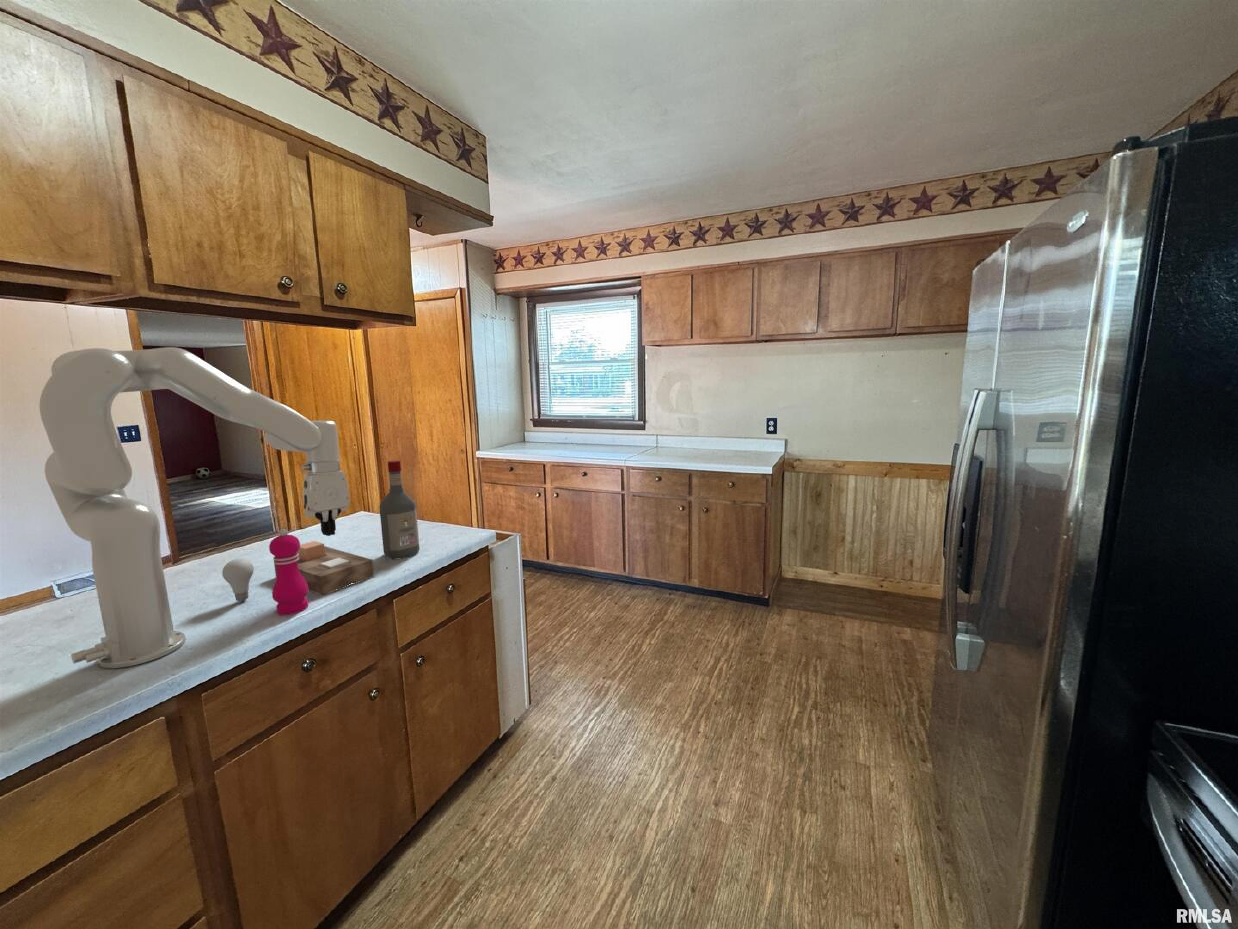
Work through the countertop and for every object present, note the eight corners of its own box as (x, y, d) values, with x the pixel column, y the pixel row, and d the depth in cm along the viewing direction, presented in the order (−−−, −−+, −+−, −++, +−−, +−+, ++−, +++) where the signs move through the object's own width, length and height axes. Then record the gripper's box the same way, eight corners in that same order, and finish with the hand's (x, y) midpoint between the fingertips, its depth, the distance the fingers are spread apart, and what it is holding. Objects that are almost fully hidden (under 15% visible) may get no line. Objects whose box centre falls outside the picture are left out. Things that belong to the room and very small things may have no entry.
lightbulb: (225, 609, 117) (218, 565, 115) (228, 600, 122) (222, 558, 120) (256, 602, 120) (250, 560, 118) (258, 594, 125) (252, 553, 123)
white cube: (332, 584, 129) (330, 566, 129) (322, 580, 132) (320, 563, 131) (350, 578, 134) (349, 560, 133) (340, 574, 136) (338, 557, 135)
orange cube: (307, 565, 135) (305, 548, 134) (298, 562, 137) (296, 545, 137) (325, 560, 139) (323, 543, 138) (316, 557, 142) (314, 541, 141)
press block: (322, 595, 124) (320, 576, 123) (276, 577, 136) (273, 560, 135) (373, 576, 136) (372, 559, 135) (326, 561, 148) (325, 546, 147)
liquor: (422, 553, 155) (415, 460, 150) (394, 560, 148) (385, 464, 143) (409, 547, 161) (401, 458, 156) (381, 554, 154) (372, 461, 149)
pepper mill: (292, 617, 112) (282, 534, 109) (266, 615, 113) (255, 532, 110) (317, 603, 119) (308, 525, 116) (293, 601, 120) (283, 524, 117)
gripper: (300, 471, 119) (306, 543, 122) (359, 465, 132) (363, 530, 134) (285, 469, 123) (291, 539, 126) (343, 463, 136) (348, 526, 138)
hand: (328, 534), depth 130 cm, fingers closed
